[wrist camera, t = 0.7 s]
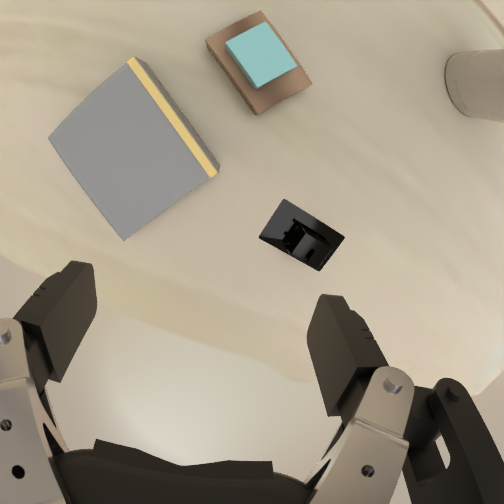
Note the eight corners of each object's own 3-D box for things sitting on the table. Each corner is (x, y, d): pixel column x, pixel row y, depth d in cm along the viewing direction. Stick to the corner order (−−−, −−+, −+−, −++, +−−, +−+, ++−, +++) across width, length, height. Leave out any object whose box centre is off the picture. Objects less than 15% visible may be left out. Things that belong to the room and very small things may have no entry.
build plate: (241, 234, 35) (242, 251, 30) (275, 180, 32) (282, 190, 28) (324, 280, 38) (334, 299, 34) (357, 234, 36) (373, 250, 31)
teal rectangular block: (262, 29, 22) (265, 21, 20) (291, 70, 24) (297, 66, 21) (225, 48, 22) (225, 42, 20) (255, 90, 24) (257, 87, 22)
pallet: (257, 21, 24) (260, 10, 21) (303, 87, 27) (312, 84, 24) (207, 48, 25) (205, 39, 22) (255, 114, 28) (258, 114, 25)
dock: (146, 63, 25) (134, 55, 21) (219, 165, 30) (218, 172, 26) (65, 134, 27) (46, 138, 23) (134, 227, 32) (122, 242, 28)
